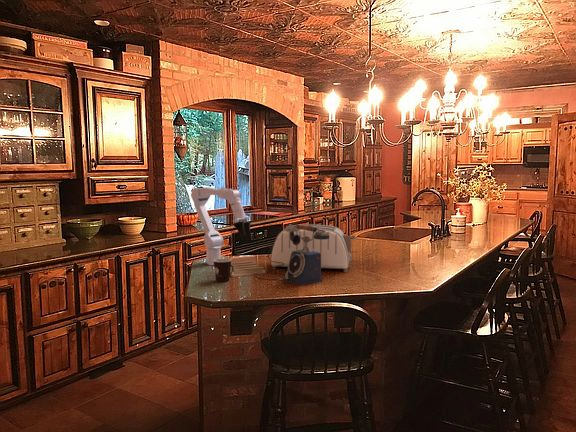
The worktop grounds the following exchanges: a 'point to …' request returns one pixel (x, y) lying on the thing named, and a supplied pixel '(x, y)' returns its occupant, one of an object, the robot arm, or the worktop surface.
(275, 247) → the toaster
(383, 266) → the worktop surface
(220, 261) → the coffee mug
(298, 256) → the rotary telephone
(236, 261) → the clay strip
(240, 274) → the drying rack
